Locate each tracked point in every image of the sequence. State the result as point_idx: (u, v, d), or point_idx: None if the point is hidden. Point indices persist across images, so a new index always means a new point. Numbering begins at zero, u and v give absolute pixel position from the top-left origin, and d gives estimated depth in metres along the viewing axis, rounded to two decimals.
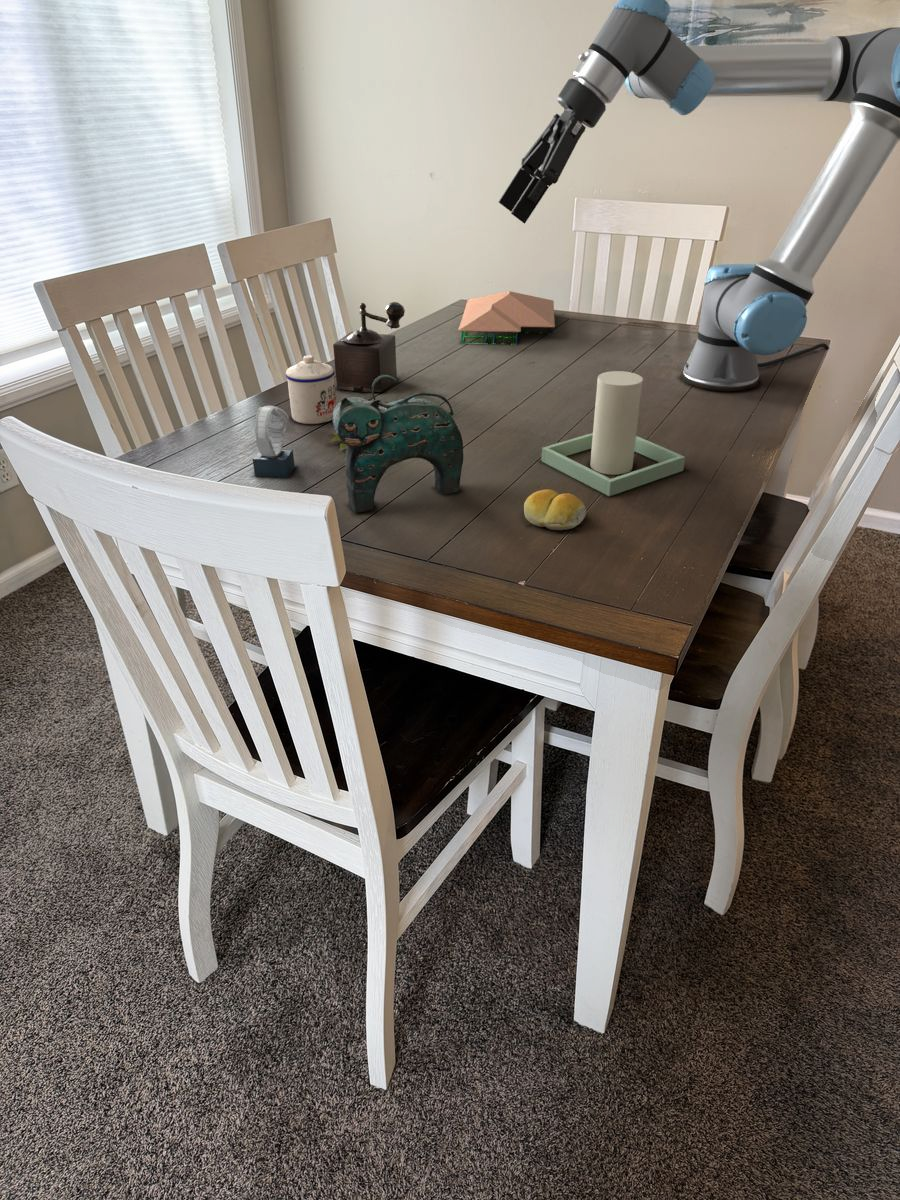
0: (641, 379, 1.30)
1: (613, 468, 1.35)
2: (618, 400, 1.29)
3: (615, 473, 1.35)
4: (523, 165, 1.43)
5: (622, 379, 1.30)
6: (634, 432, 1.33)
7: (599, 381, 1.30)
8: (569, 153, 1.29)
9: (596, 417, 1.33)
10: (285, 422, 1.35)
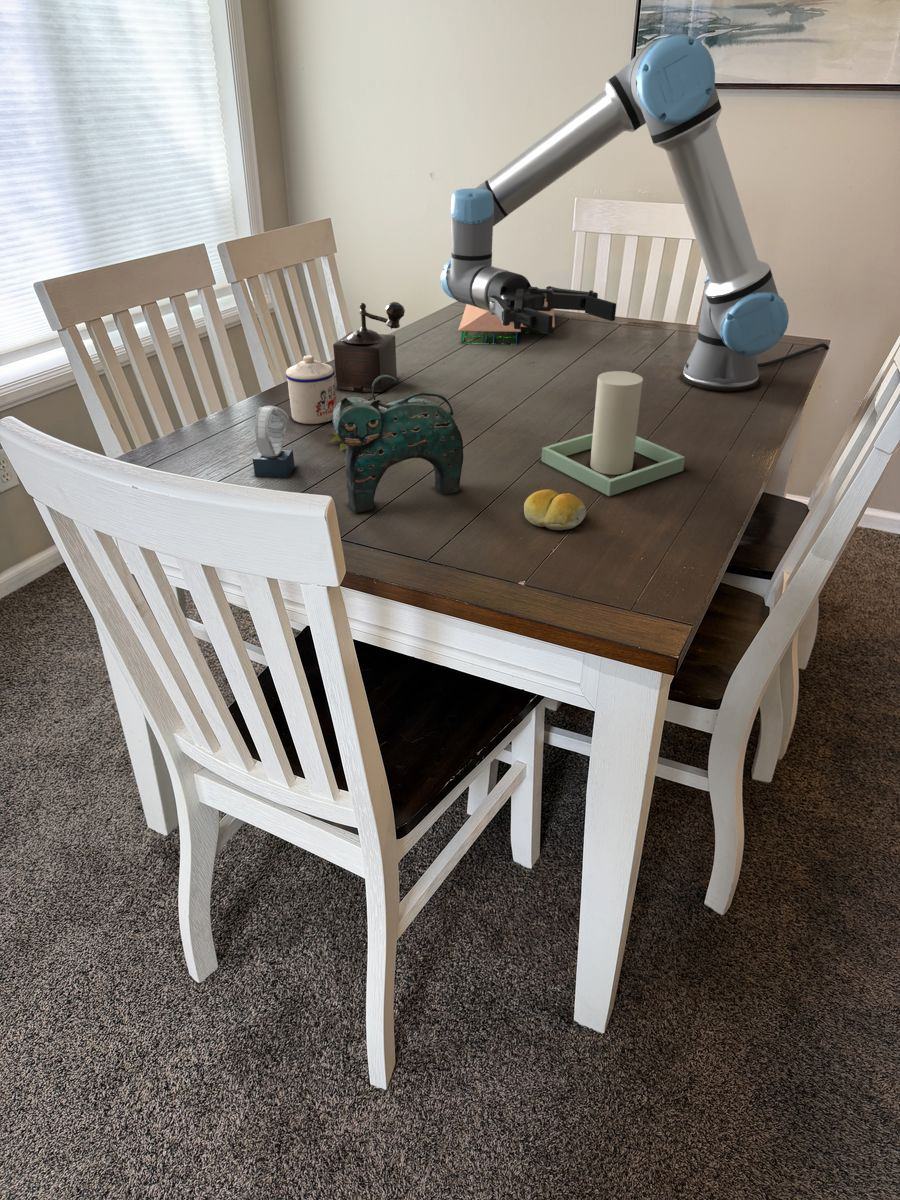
0: (641, 379, 1.30)
1: (613, 468, 1.35)
2: (618, 400, 1.29)
3: (615, 473, 1.35)
4: None
5: (622, 379, 1.30)
6: (634, 432, 1.33)
7: (599, 381, 1.30)
8: (498, 304, 1.37)
9: (596, 417, 1.33)
10: (285, 422, 1.35)
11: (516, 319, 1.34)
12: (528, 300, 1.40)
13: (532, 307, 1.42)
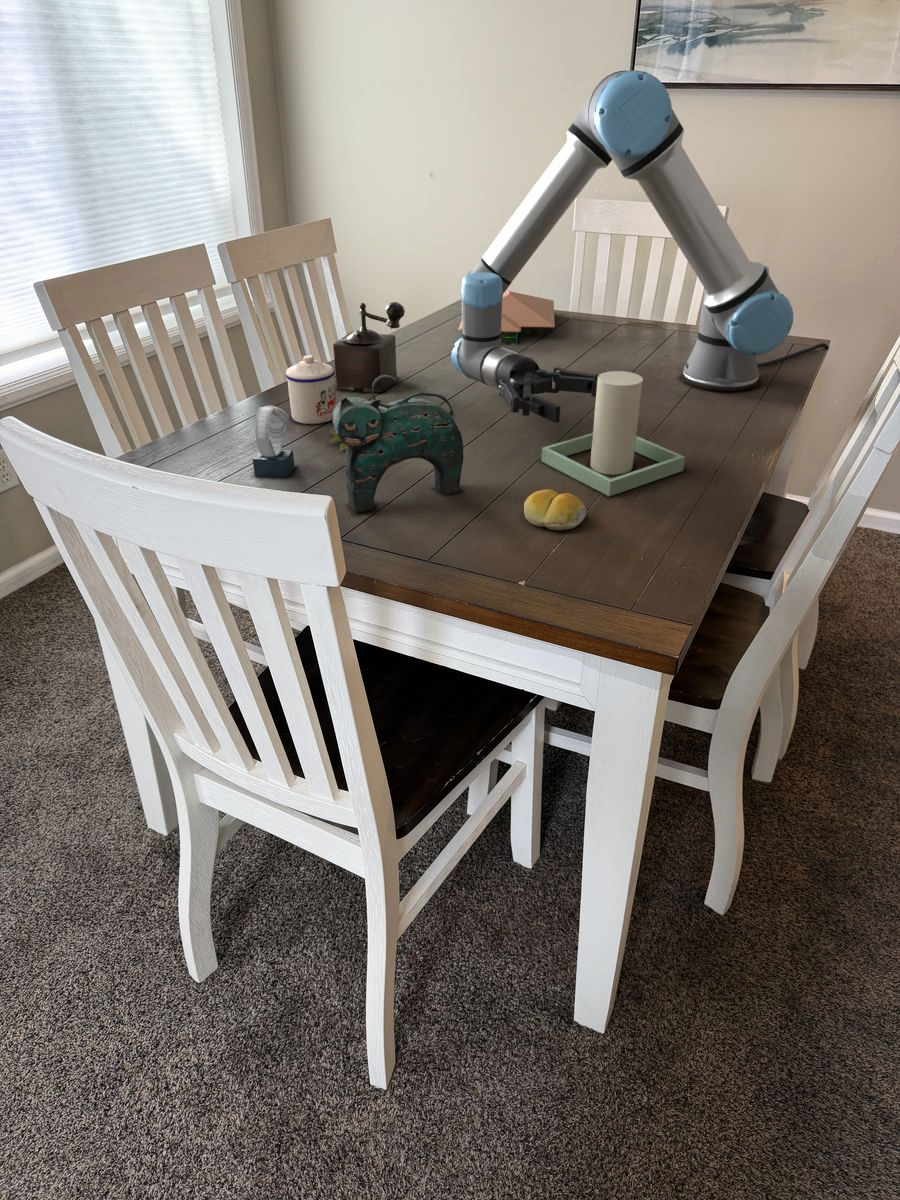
0: (641, 379, 1.30)
1: (613, 468, 1.35)
2: (618, 400, 1.29)
3: (615, 473, 1.35)
4: (591, 392, 1.47)
5: (622, 379, 1.30)
6: (634, 432, 1.33)
7: (599, 381, 1.30)
8: (507, 390, 1.42)
9: (596, 417, 1.33)
10: (285, 422, 1.35)
11: (525, 407, 1.39)
12: (536, 384, 1.46)
13: (540, 390, 1.47)
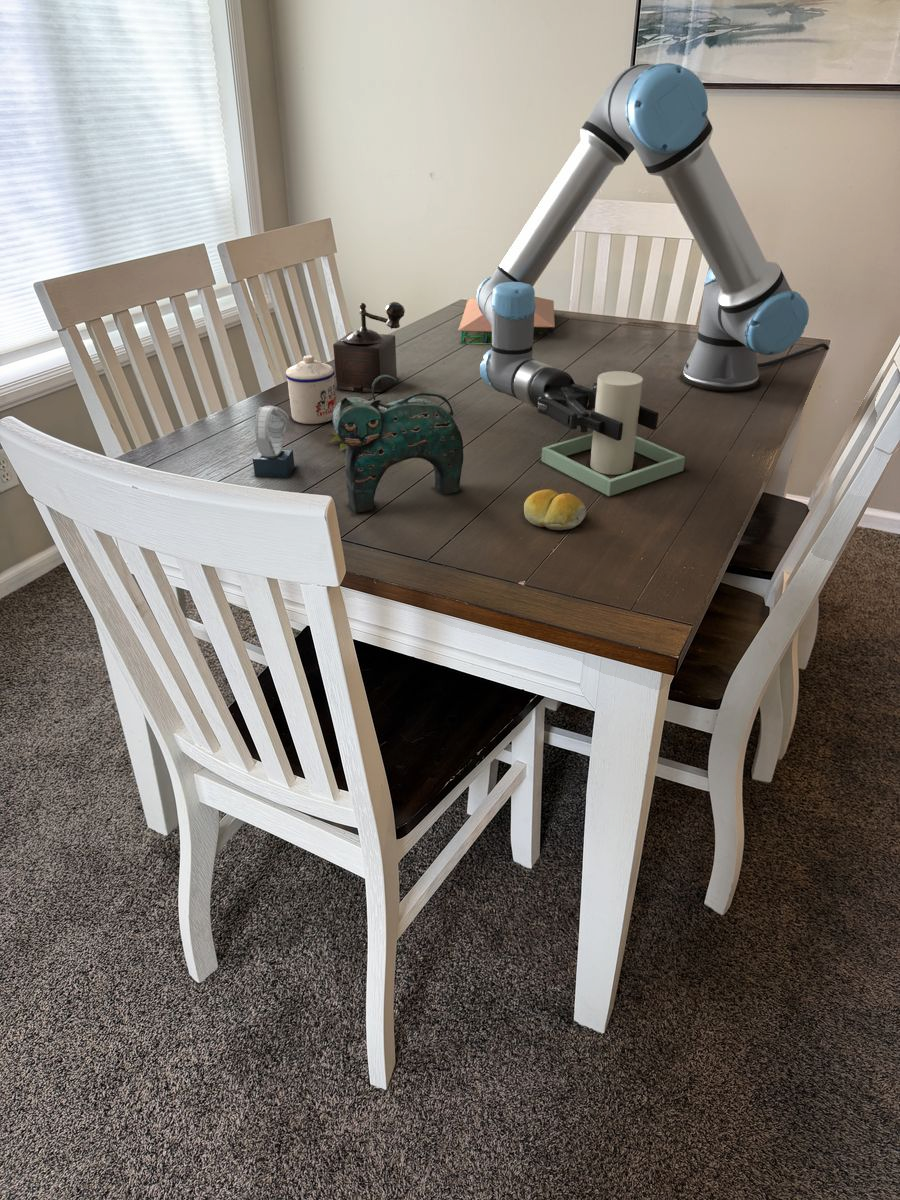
0: (641, 379, 1.30)
1: (613, 468, 1.35)
2: (618, 400, 1.29)
3: (615, 473, 1.36)
4: None
5: (622, 379, 1.30)
6: (634, 432, 1.33)
7: (599, 381, 1.30)
8: (555, 407, 1.35)
9: None
10: (285, 422, 1.35)
11: (584, 423, 1.33)
12: None
13: None
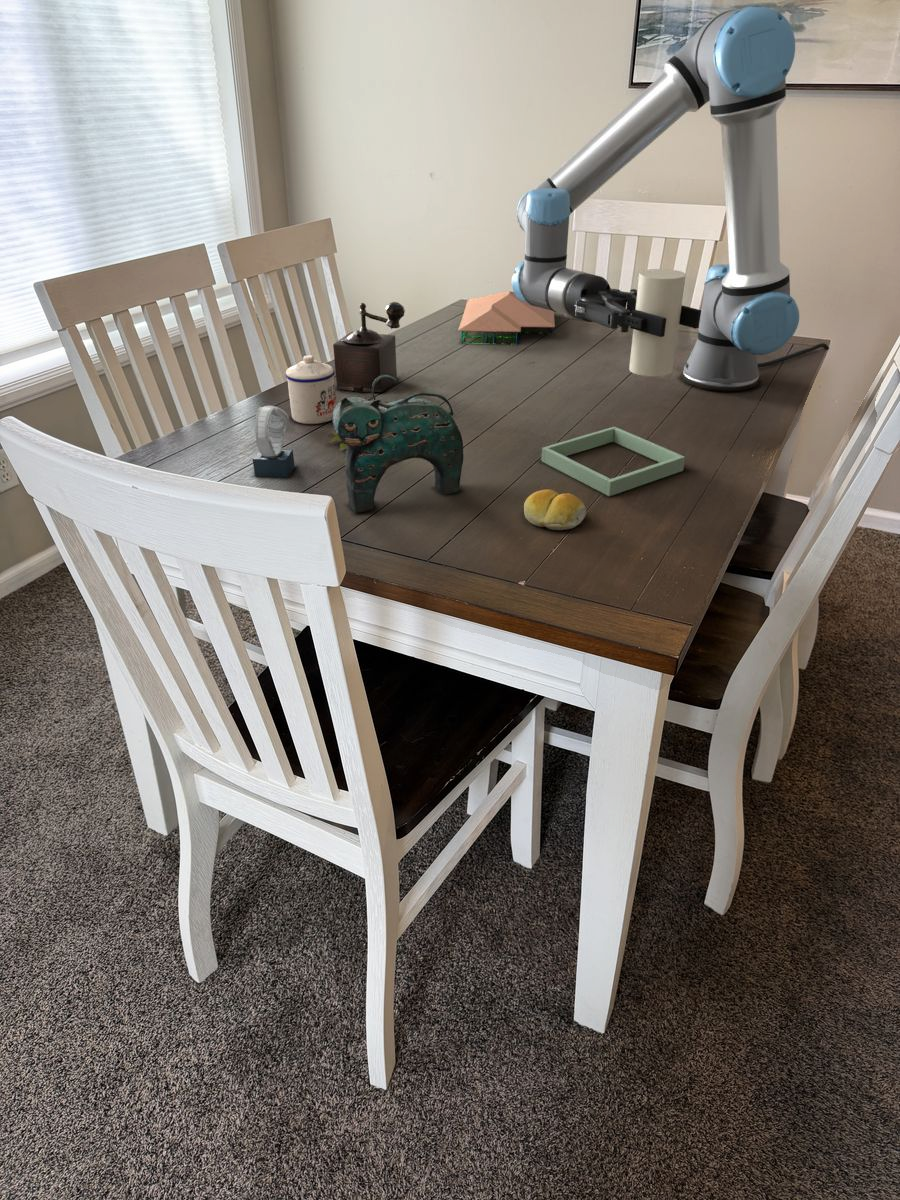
0: (684, 274, 1.27)
1: (654, 369, 1.32)
2: (661, 295, 1.26)
3: (656, 375, 1.32)
4: None
5: (665, 274, 1.27)
6: (676, 331, 1.30)
7: (641, 276, 1.27)
8: (595, 308, 1.32)
9: None
10: (285, 422, 1.35)
11: (624, 322, 1.30)
12: None
13: None
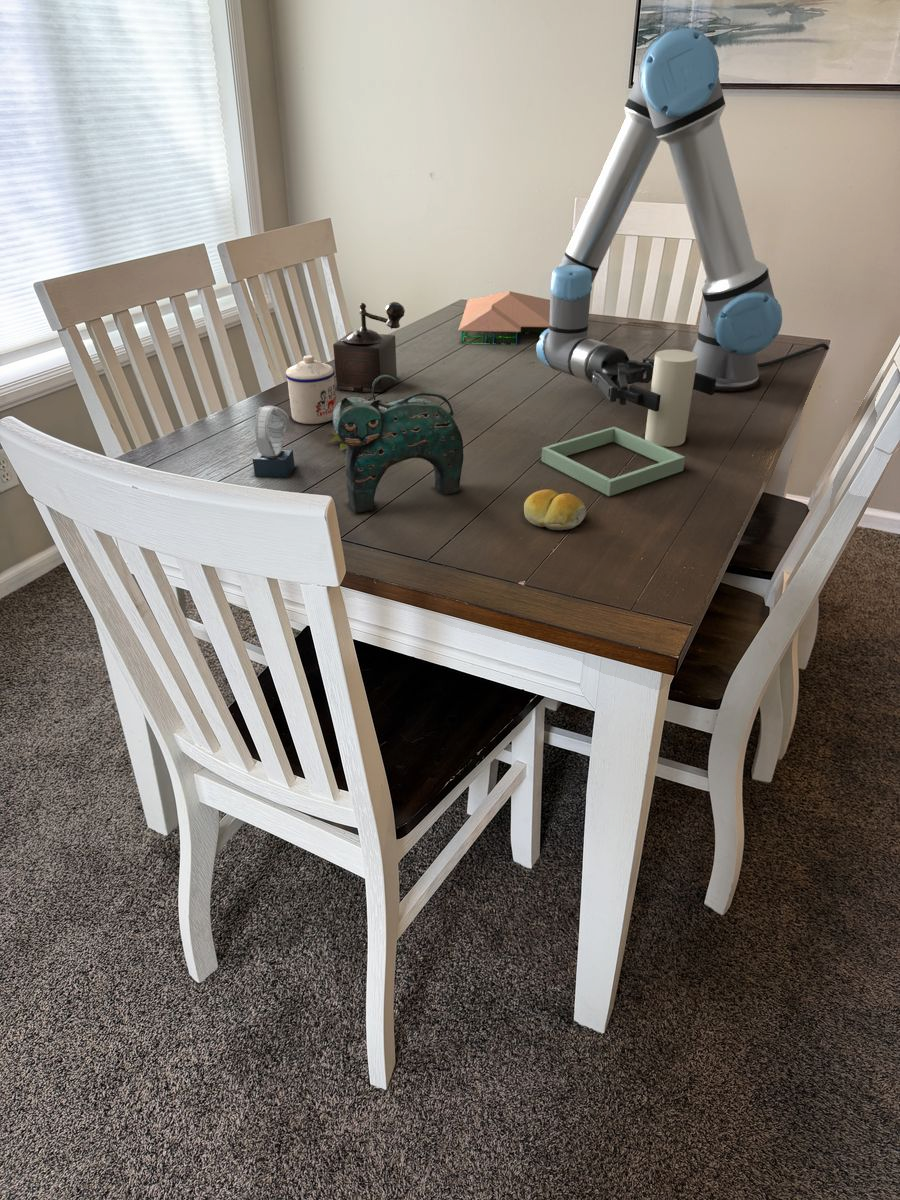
0: (696, 356, 1.39)
1: (668, 440, 1.45)
2: (675, 375, 1.38)
3: (669, 445, 1.45)
4: None
5: (678, 356, 1.39)
6: (688, 406, 1.43)
7: (657, 358, 1.39)
8: (603, 380, 1.45)
9: None
10: (285, 422, 1.35)
11: (623, 396, 1.42)
12: (629, 374, 1.48)
13: (633, 380, 1.49)
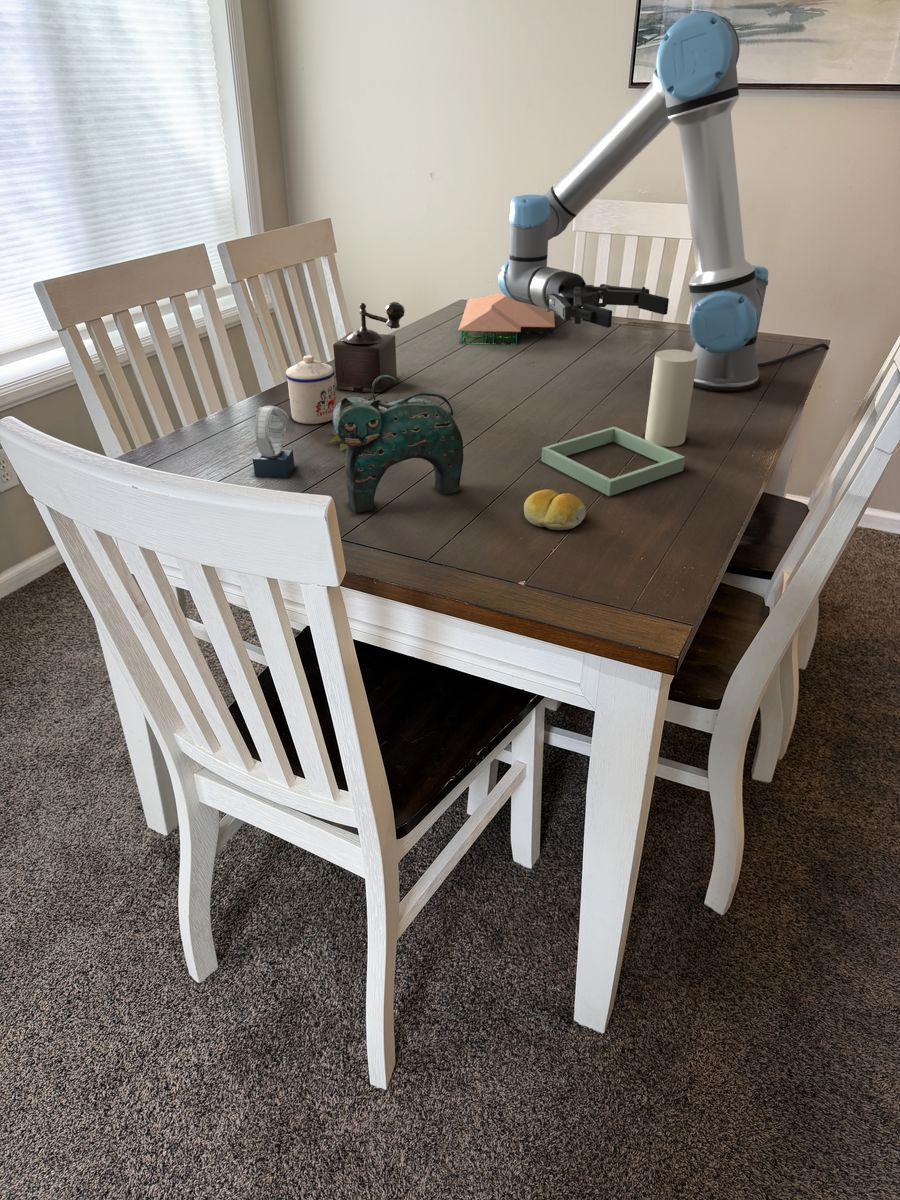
0: (696, 356, 1.39)
1: (668, 440, 1.45)
2: (675, 375, 1.38)
3: (669, 445, 1.45)
4: None
5: (678, 356, 1.39)
6: (688, 406, 1.43)
7: (657, 358, 1.39)
8: (558, 301, 1.48)
9: (653, 392, 1.43)
10: (285, 422, 1.35)
11: (577, 314, 1.45)
12: (585, 297, 1.51)
13: (589, 303, 1.52)
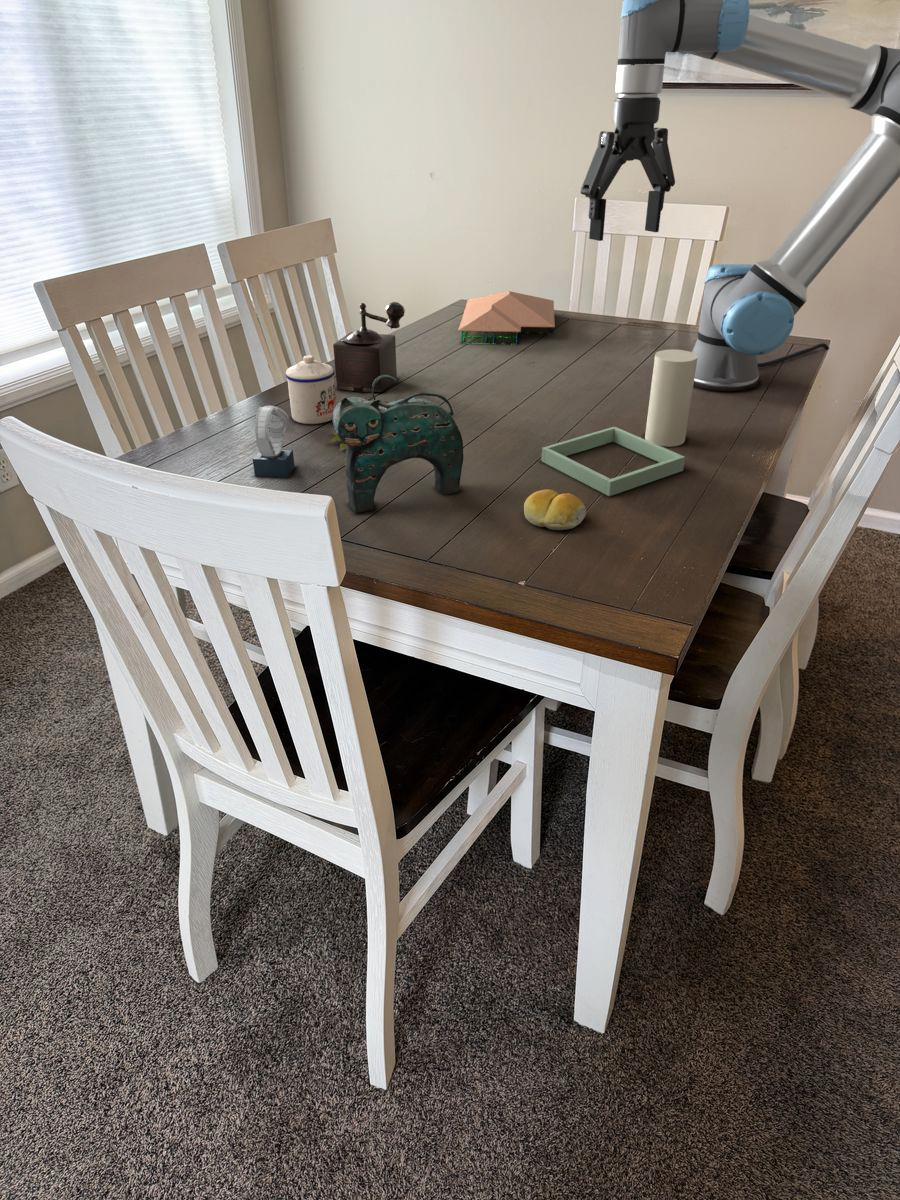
0: (696, 356, 1.39)
1: (668, 440, 1.45)
2: (675, 375, 1.38)
3: (669, 445, 1.45)
4: (653, 187, 1.48)
5: (678, 356, 1.39)
6: (688, 406, 1.43)
7: (657, 358, 1.39)
8: (600, 163, 1.37)
9: (653, 392, 1.43)
10: (285, 422, 1.35)
11: (590, 199, 1.40)
12: (627, 159, 1.40)
13: None
